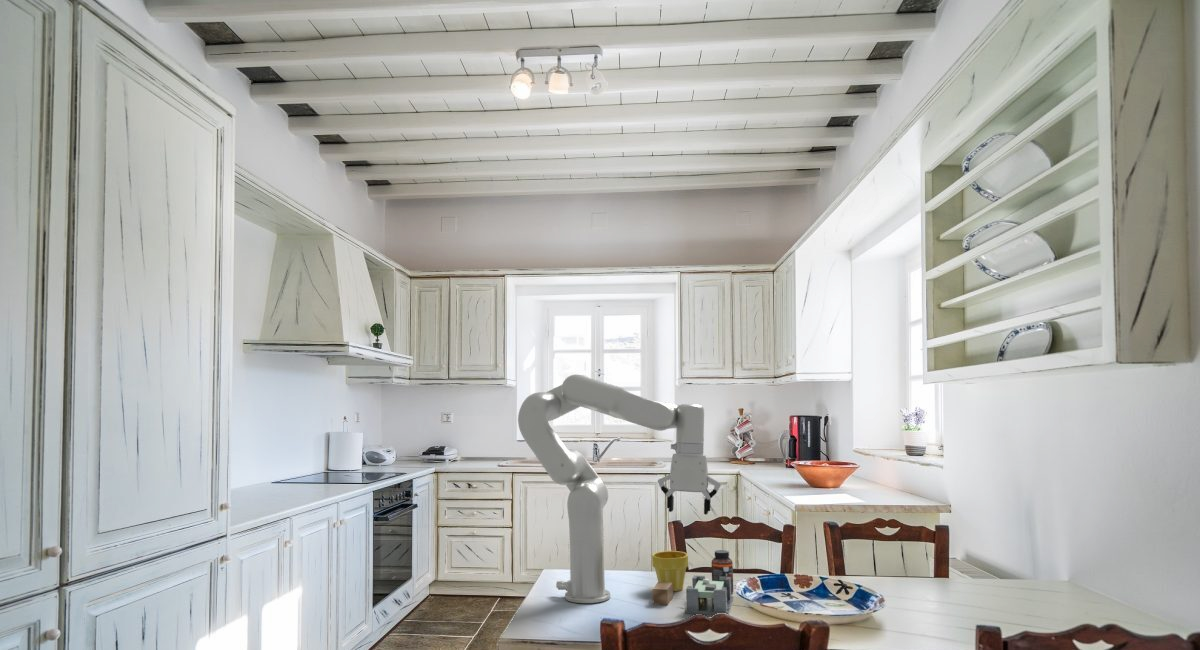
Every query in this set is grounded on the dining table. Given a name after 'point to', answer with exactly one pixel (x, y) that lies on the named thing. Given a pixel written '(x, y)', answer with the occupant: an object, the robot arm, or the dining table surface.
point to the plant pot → (671, 567)
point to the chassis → (709, 599)
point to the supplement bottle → (722, 566)
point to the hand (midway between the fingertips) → (688, 512)
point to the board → (708, 587)
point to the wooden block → (662, 593)
